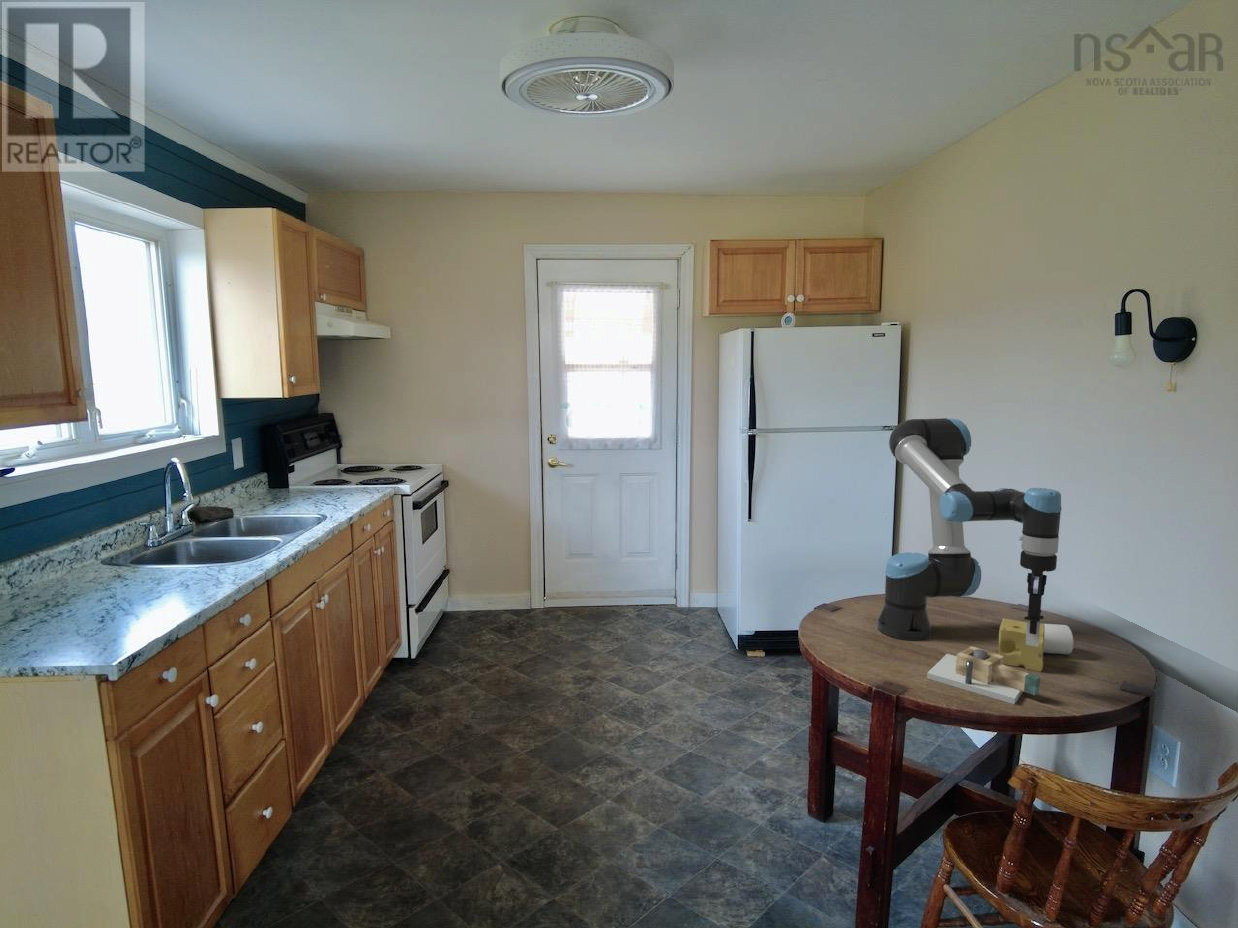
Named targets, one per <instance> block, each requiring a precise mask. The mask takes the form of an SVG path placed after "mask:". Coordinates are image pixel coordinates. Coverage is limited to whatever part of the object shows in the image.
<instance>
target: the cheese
mask: <svg viewBox="0 0 1238 928" xmlns="http://www.w3.org/2000/svg"><path fill="white" fill-rule="evenodd" d="M1044 624H1045V623H1041V624H1040V633H1039V645H1038V647H1036V646H1031V645H1026V631H1027V621H1023V620H1022V621H1020V620H1015V619H1010V618H1004V617H1003V618H1002V621H1001V623H1000V626H999V631H998V655H1001V656H1004V661H1003V665H1005V666H1009V667H1023V668H1025V669H1026V670H1031V671H1034V672H1039V673H1041V672H1042V671H1043V668H1044V653H1043V650H1044V631H1045V625H1044Z"/></svg>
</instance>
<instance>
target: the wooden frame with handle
mask: <svg viewBox="0 0 1238 928" xmlns="http://www.w3.org/2000/svg"><path fill="white" fill-rule="evenodd" d="M977 649H978V650H983V651H986V652H987V659H986V660H982V659H979V658H976V657H973V654H974V650H977ZM956 656H957V657H956V671H955V673H958V674H961V675H964V676H966V664H967V661H971V662H973V670H972V679H975V680H978V681H980V682H983V683H986V684H989V683H990V682H992V681H995V682H998V683H1001V684H1004V685H1007V686H1009V687H1012V688H1015V689H1018V690H1021V691H1023V693H1027V694H1029V695H1032V696H1036V695H1038V694H1039V693H1040V681H1041V676H1039V675H1036V674H1033V673H1031V672H1029V673H1028V672H1025V671H1023V670H1020V669H1018V668H1017V669H1016V668H1014V667H1012V666H1009V665H1005V664H1003V661H1004V656H1001V655H999V653H998V654H997V653H994V652H992V651H988V650H985V649H982V648H979V647H976V646H972V645H971V646H969V647H967V648H966V649H964V650H962V651H960V652H958V653H957V654H956Z"/></svg>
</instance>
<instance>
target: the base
mask: <svg viewBox="0 0 1238 928" xmlns="http://www.w3.org/2000/svg"><path fill="white" fill-rule="evenodd" d="M983 650H984V649H982V650H978V649H977V650H974V654H973V657H976V658H979V659H982V660H986V659H987V652H986V651H987V650H985V651H983ZM956 657H957V655H955V654H954V655H953V654H950V653H946V654H945V655H944V656H943V657H942V658H941V659H940V660H939V661H938V662H937V663H936V664H934V665H933V667H932V668H931V669H930V670H928V672H927V673H926V679H928V680H932V681H935V682H938V683H941V684H944V685H949V686H952V687H954V688H958V689H961V690H965V691H968V692H972V693H974V694H979V695H982V696H985V697H988V698H992V699H994V700H998V701H1001V702H1004V703H1008V704H1012V705H1015V704H1017V702H1018V700H1019V699H1020V697H1021V696H1022V694H1023V693H1024V691H1021V690H1018V689H1015V688H1012V687H1009V686H1007V685H1004V684H1001V683H998V682H995V681H992V682H990V683H989V684H986V683H983V682H980V681H978V680H975V679H972V684H966V683H965V678H966V676H964V675H961V674H958V673H955V671H956Z"/></svg>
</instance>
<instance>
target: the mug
mask: <svg viewBox="0 0 1238 928" xmlns="http://www.w3.org/2000/svg"><path fill="white" fill-rule="evenodd" d="M1040 624H1042V623H1041V622H1040ZM1043 624H1044V625H1045V631H1044V650H1043V654H1053V655H1054V654H1055V655H1066V656H1067V655H1070V654H1072V653H1073V649H1074V636H1073V635H1074V634H1073V632H1072V630H1071V628H1070V627H1069V625H1067V624H1057V623H1056V624H1055V623H1054V624H1053V623H1043Z"/></svg>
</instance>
